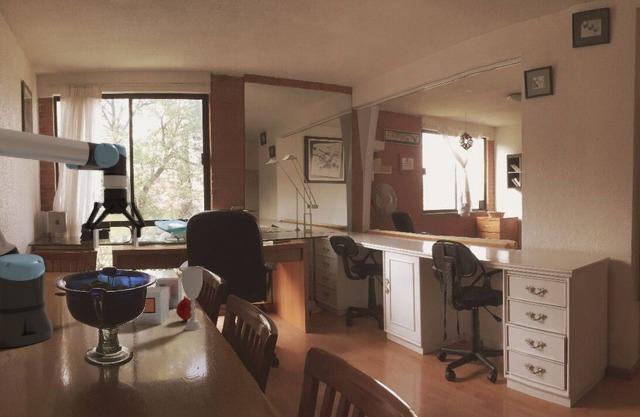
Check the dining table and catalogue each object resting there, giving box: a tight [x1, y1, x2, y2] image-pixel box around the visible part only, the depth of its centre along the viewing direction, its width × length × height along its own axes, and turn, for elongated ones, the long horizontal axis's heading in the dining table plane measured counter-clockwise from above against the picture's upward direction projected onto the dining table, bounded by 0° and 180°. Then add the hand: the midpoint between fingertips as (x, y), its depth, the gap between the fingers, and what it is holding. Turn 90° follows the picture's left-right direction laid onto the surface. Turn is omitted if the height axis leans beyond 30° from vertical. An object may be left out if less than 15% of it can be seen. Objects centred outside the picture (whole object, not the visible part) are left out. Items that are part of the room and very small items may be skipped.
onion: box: [175, 295, 196, 322], centre depth 138 cm, size 6×6×8 cm
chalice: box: [179, 265, 205, 331], centre depth 131 cm, size 7×7×18 cm
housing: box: [133, 286, 170, 326], centre depth 139 cm, size 9×8×10 cm
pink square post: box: [143, 287, 170, 312], centre depth 144 cm, size 18×4×4 cm, turn 4°
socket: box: [155, 277, 183, 309], centre depth 158 cm, size 4×8×10 cm, turn 94°
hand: (116, 247), depth 155 cm, fingers open, 13 cm apart
